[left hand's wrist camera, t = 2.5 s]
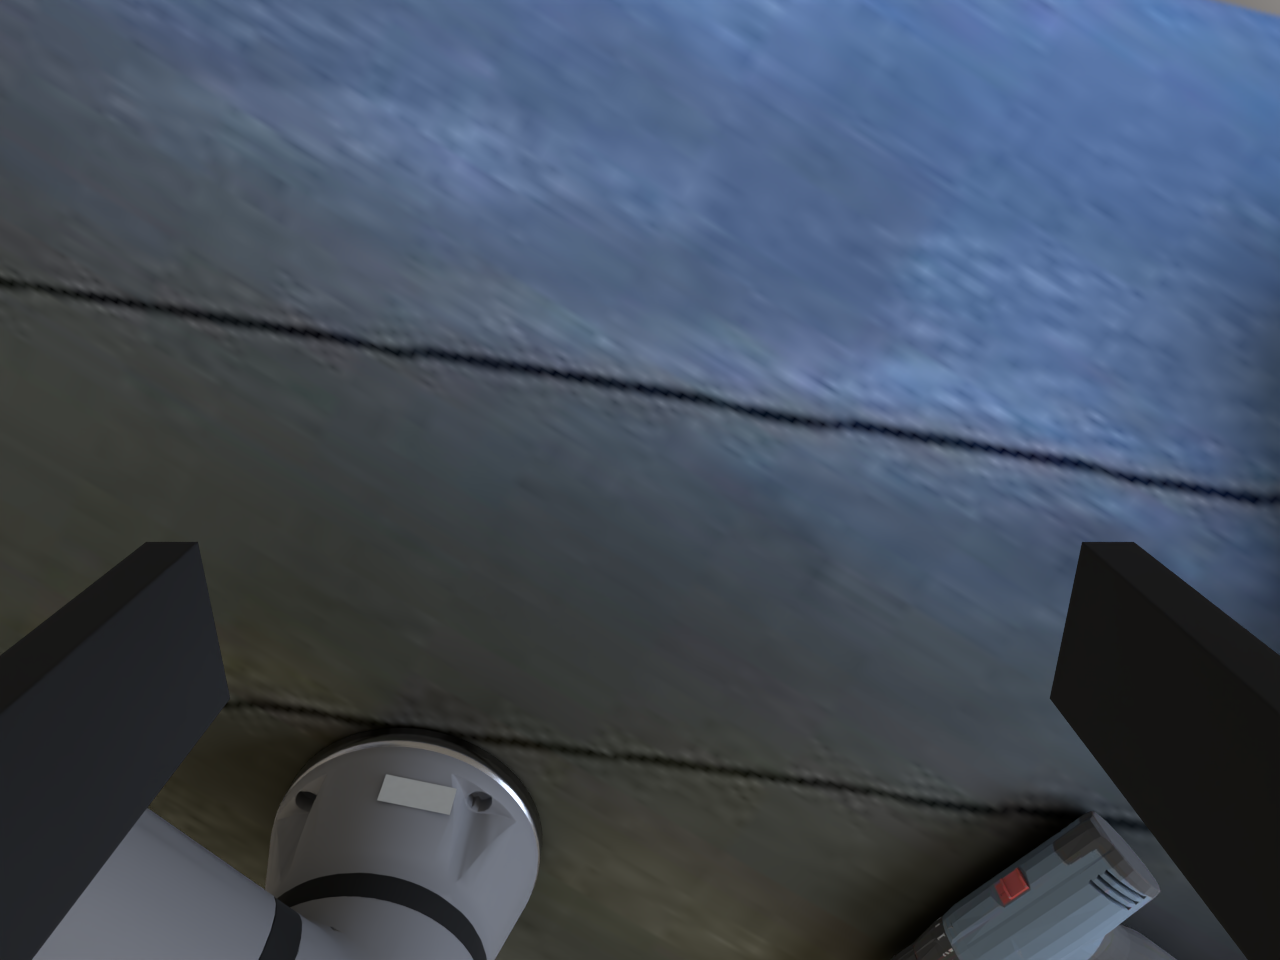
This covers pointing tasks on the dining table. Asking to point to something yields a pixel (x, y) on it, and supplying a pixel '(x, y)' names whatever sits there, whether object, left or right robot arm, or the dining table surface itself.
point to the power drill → (1052, 905)
